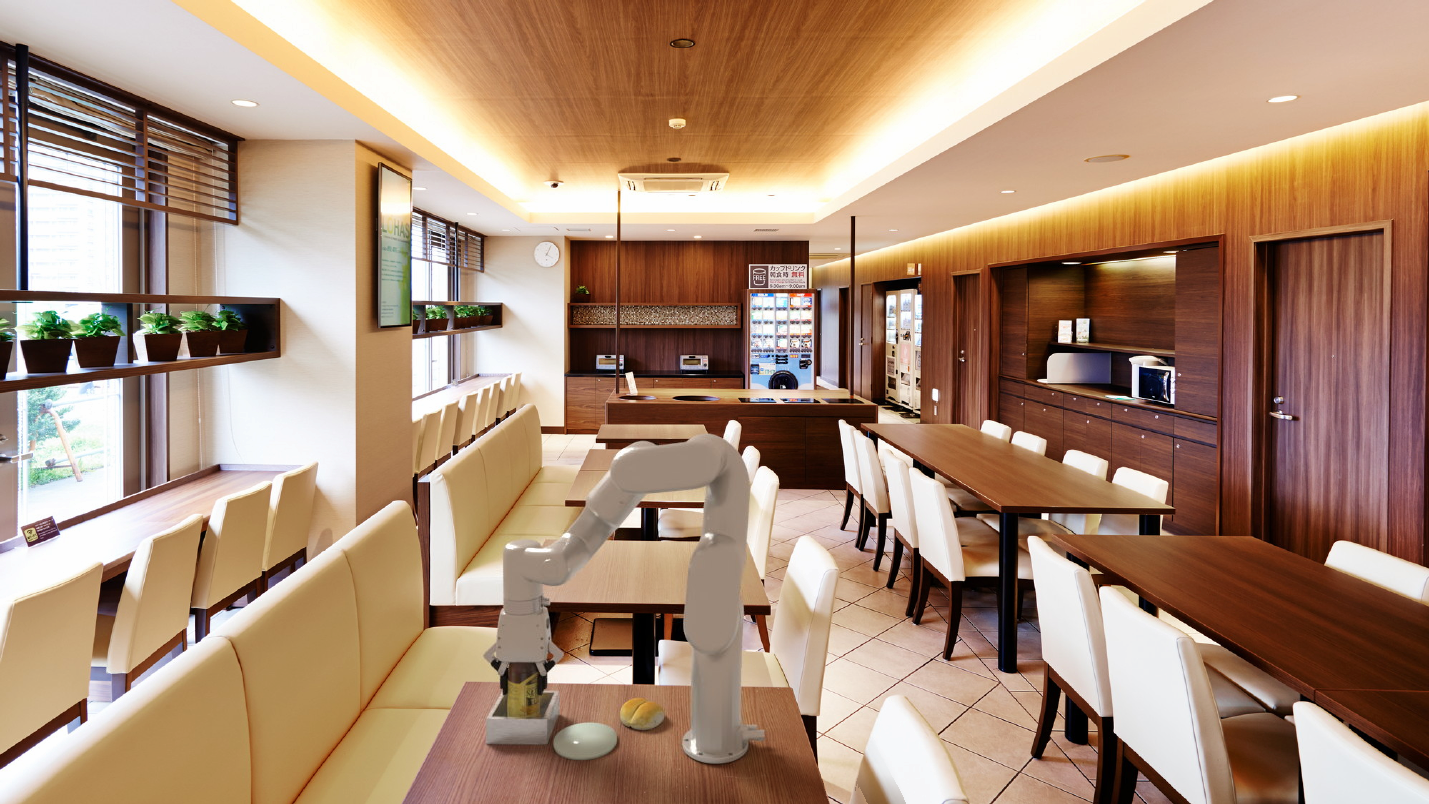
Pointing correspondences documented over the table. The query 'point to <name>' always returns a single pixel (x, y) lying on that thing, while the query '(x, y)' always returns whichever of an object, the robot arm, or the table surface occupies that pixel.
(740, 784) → the table surface
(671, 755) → the table surface
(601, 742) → the saucer
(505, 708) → the square storage bin
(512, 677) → the sauce bottle
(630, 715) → the bread roll
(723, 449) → the robot arm
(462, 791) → the table surface
